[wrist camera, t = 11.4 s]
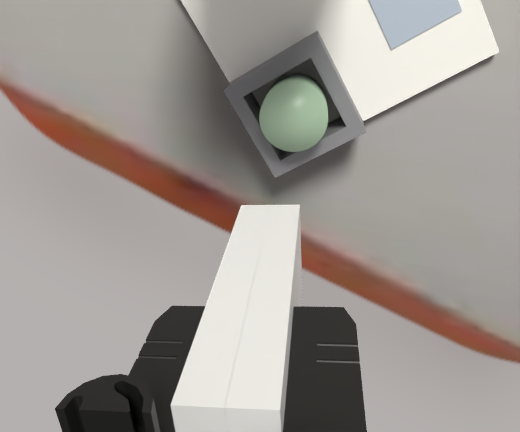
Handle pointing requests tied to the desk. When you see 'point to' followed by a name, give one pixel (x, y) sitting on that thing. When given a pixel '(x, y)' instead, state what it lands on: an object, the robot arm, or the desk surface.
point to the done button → (294, 113)
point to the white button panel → (338, 56)
